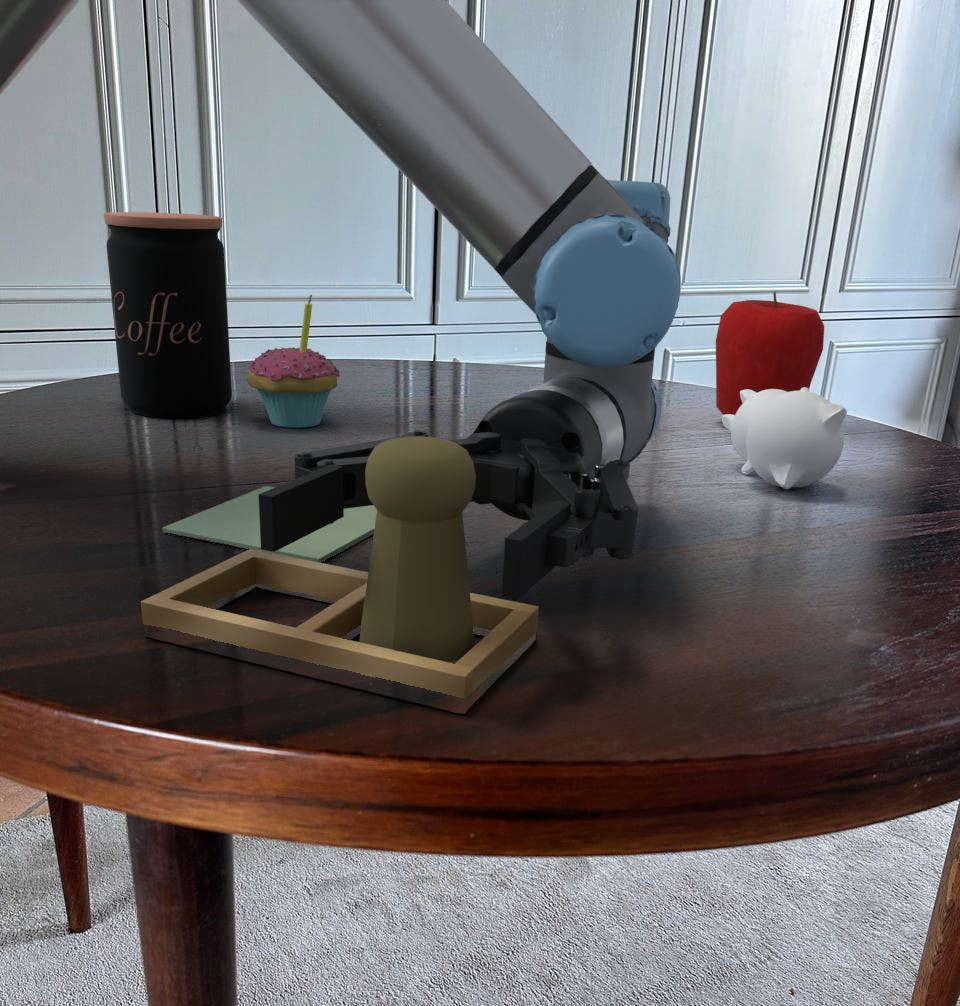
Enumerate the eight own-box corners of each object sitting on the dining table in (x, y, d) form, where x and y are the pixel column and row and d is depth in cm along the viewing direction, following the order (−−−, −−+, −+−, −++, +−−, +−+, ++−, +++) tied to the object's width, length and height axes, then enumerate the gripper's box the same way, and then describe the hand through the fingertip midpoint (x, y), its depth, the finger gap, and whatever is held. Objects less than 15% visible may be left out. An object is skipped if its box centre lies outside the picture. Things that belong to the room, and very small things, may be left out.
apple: (702, 431, 104) (721, 291, 98) (706, 412, 113) (724, 283, 108) (810, 442, 102) (835, 299, 96) (805, 421, 111) (828, 290, 105)
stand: (143, 637, 52) (140, 601, 52) (251, 580, 61) (250, 548, 60) (463, 716, 46) (465, 676, 45) (536, 640, 54) (539, 605, 54)
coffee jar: (99, 412, 100) (78, 212, 92) (161, 394, 109) (146, 211, 102) (197, 424, 97) (183, 219, 90) (252, 404, 106) (243, 217, 99)
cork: (413, 622, 56) (417, 420, 51) (500, 655, 52) (512, 442, 48) (331, 655, 51) (328, 438, 47) (420, 694, 48) (425, 464, 44)
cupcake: (352, 419, 102) (351, 292, 97) (317, 436, 95) (314, 300, 90) (273, 410, 104) (268, 286, 99) (233, 427, 96) (225, 293, 92)
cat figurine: (754, 354, 89) (817, 373, 78) (838, 421, 93) (910, 449, 82) (692, 438, 91) (745, 469, 80) (777, 501, 95) (839, 538, 84)
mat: (162, 533, 68) (161, 527, 67) (266, 490, 78) (266, 485, 78) (319, 564, 63) (318, 558, 63) (407, 515, 74) (407, 510, 73)
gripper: (729, 537, 62) (633, 676, 43) (378, 479, 70) (172, 576, 52) (748, 412, 59) (653, 505, 40) (378, 367, 67) (159, 428, 49)
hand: (382, 545), depth 46 cm, fingers open, 12 cm apart
